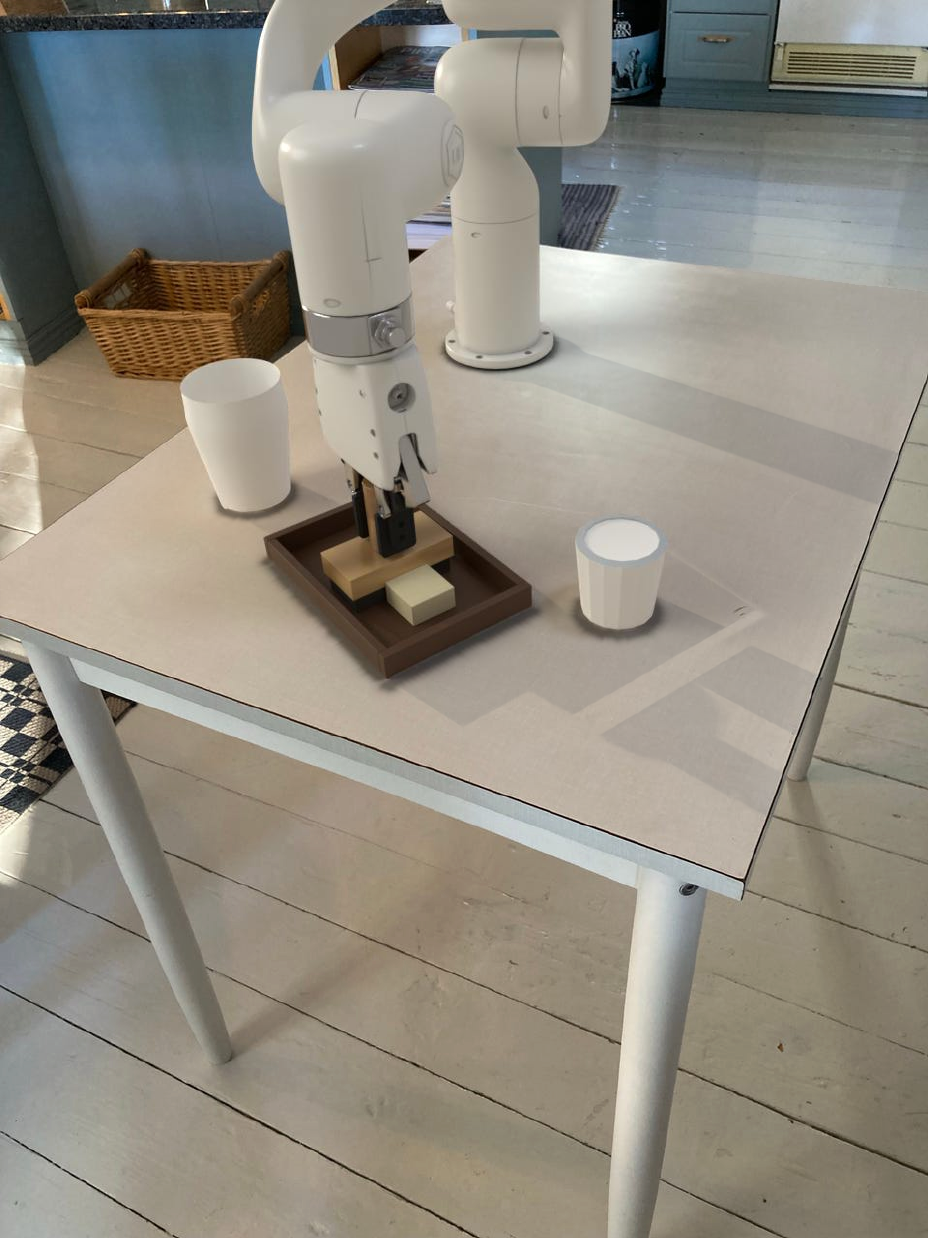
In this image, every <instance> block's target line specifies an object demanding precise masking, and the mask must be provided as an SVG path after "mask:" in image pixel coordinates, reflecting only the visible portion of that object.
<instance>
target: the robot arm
mask: <svg viewBox="0 0 928 1238" xmlns="http://www.w3.org/2000/svg"><path fill="white" fill-rule="evenodd" d="M398 1H399V0H274V1H273V3H272V6H271V8H270V10H269V12H268V14H267V17H266V19H265V21H264V24H263V27H262V30H261V34H260V37H259V42H258V47H257V53H256V54H257V55H256V63H255V65H256V66H255V76H254V87H253V88H254V89H253V98H252V99H253V100H252V101H253V102H252V112H251V113H252V114H251V148H252V157H253V163H254V167H255V172H256V174H257V177H258V181H259V182H260V185H261V186H262V188H263V190H264V191H265V192H266V194H267V195H268V196H269V197H270V199H272V200H274V201H275V202H277V204H279V205H280V206H284V208H285V213H286V220H287V226H288V233H289V239H290V244H291V250H292V258H293V262H294V263H293V264H294V269H295V276H296V281H297V289H298V295H299V300H300V307H301V313H302V319H303V325H304V330H305V332H304V333H305V338H306V343H307V348H308V349H307V350H308V351H309V353H310V354H311V355H312V364H313V365H312V367H313V374H314V375H313V376H314V387H315V395H316V396H315V397H316V403H317V411H318V416H319V421H320V427H321V431H322V434H323V438H324V441H325V443H326V444H327V446H328V447H329V448H330V450H332V451H333V453H334V454H336V455H337V456H338V457H339V458H340V461H341V463H342V464H343V465H344V469H345V477H346V485H347V488H348V490H349V491H350V492H351V493H352V495H351V496H350V497H351V501H352V503H353V510H354V516H355V523H356V530H357V534H358V536H360V537H361V538H362V539H364V538H367V537H370V536H369V529H368V522H367V515H366V507H365V500H364V493H363V485H362V481H363V479H364V477H365V478H366V479H368V480H369V481H370V482H372V483H373V484H374V489H375V495H376V501H377V507H378V513H376V514H374V520H375V528H376V535H377V543H378V550H379V554H380V555H381V556H382V557H383V558H388V557H390V556H392V555H394V554H397V553H399V552H401V551H404V550H406V549H408V548H410V547H413V546H414V545H415V544H416V531H415V522H414V512H413V508H416V507H418V506H421V505H423V504H428V503H430V502H431V496H430V493H429V489H428V487H427V484H426V480H425V477H424V474H423V472H425V473H426V474H427V475H434V474H436V473H437V472H438V470H439V467H440V466H439V461H440V460H439V449H438V441H437V433H436V426H435V420H434V419H435V418H434V412H433V405H432V400H431V394H430V390H429V389H430V388H429V385H428V384H429V383H428V380H427V376H426V371H425V367H424V363H423V361H422V356H421V353H420V350H419V348H418V347H417V345H415V342H416V339H417V335H416V322H415V313H414V301H413V291H412V278H411V267H410V256H409V246H408V234H407V223H408V222H410V221H412V220H414V219H416V218H418V217H420V216H423V215H425V214H427V213H430V212H431V211H433V210H434V209H436V208H437V207H438V206H440V205H441V204H442V203H443V202H444V201H445V200H446V199H447V198H448V196H449V202H450V203H449V204H450V215H451V217H450V218H451V219H450V220H451V234H452V251H453V269H454V284H455V287H454V288H455V298H454V300H453V299H449V300H448V301H447V302H446V304H445V309H446V311H448V313H449V312H450V313H451V314H453V315H454V326H455V327H453V328H452V329H451V330H450V331H449V332H448V333H447V334H446V336H445V341H444V343H445V351H446V353H447V355H448V356H449V357H450V358H451V359H452V360H454V361H456V362H458V363H460V364H462V365H465V366H468V367H472V368H477V369H478V368H479V369H484V370H485V369H486V370H505V369H513V368H518V367H519V368H520V367H522V366H523V367H524V366H527V365H530V364H532V363H535V362H537V361H539V360H541V359H543V358H544V357H546V356H547V355H548V354H549V353H550V352H551V351H552V350H553V346H554V334H553V331H552V330H551V329H550V327H548V326H547V325H546V324H544V323H543V322H541V283H540V281H541V280H540V279H541V278H540V277H541V275H540V273H541V270H540V269H541V267H540V265H541V263H540V262H541V260H540V259H541V258H540V255H541V254H540V252H541V251H540V247H541V245H540V244H541V243H540V241H541V240H540V239H541V238H540V237H541V235H540V234H541V233H540V231H541V230H540V229H541V227H540V190H539V189H540V188H539V185H538V182H537V178H536V177H535V174H534V172H533V170H532V169H531V167H530V166H529V164H528V163H527V161H526V159H525V158H524V156H523V155H522V154H521V153H520V151H519V149H518V148H525V147H543V148H544V147H546V148H547V147H550V148H552V147H553V148H554V147H561V148H562V147H581V146H587V145H590V144H593V143H595V142H596V141H597V140H598V139H599V138H600V137H601V136H602V135H603V133H604V132H605V130H606V127H607V125H608V121H609V117H610V111H611V104H612V103H611V101H612V81H613V80H612V79H613V78H612V77H613V75H612V74H613V73H612V72H613V68H612V66H613V65H612V64H613V61H612V59H613V0H440V1H441V5H442V8H443V11H444V13H445V15H446V17H447V19H448V20H449V21H450V22H451V23H453V24H454V25H455V26H458V27H460V28H463V29H466V30H472V31H473V30H475V31H538V30H539V31H547V30H550V31H554V32H555V33H556V34H557V35H558V37H483V38H474V39H469V40H465V41H461V42H458V43H457V44H455V45H453V46H451V47H450V48H448V49H447V50H446V51H445V52H444V53H443V54H442V55H441V57H440V58H439V60H438V62H437V65H436V68H435V71H434V78H433V79H434V80H433V89H434V90H433V91H434V94H432V93H430V92H426V91H417V90H369V89H315V90H314V83H315V80H316V78H317V75H318V71H319V69H320V67H321V65H322V63H323V61H324V60H325V58H326V56H327V55H328V54H329V52H330V51H331V49H332V48H333V47H334V46H335V44H337V43H338V41H339V40H340V39H341V38H342V37H343V36H345V35H346V34H347V33H348V32H350V30H352V29H353V28H354V27H355V26H357V25H358V24H360V23H362V22H363V21H365V20H366V19H369V18H370V17H371V16H373V15H375V14H377V13H378V12H380V11H382V10H385V9H386V8H387V7H389V6H390V5H392V4H394V3H396V2H398ZM398 484H400V486H401V490H400V491H398V492H395V493H393V494H392V495H391V496H390V497H389V493H388V491H391V490H393V489H394V486H395V485H398Z"/></svg>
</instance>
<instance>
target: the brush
mask: <svg viewBox="0 0 928 1238" xmlns="http://www.w3.org/2000/svg"><path fill="white" fill-rule="evenodd" d="M362 485H363V493H364V500H365V507H366V515H367V522H368V529H369V536H370V537H367V538H364V539H362V538H361V537H360V536H359V537H356V538H354V539H352V540H349V541H347V542H344V543H342V544H340V545H337V546H335V547H333V548H330V549H328V550H326V551H323V552H321V558H322V564H323V569H324V573H325V574H326V575H327V576H328V577H329V578H330V584H331V587H332V588H333V589H334V590H335V591H336V592H337V593H338V594H339V595H340V596H341V597H342V598H343V599H344V600H345V601H346V602H347V603H348V604H349V605H350V606H351V607H352V608H353V609H354V610H355V611H356V612H357V613H359V612H361V611H363V610H365V609H367V608H370V607H372V606H374V605H376V604H378V603H380V602H383V601H385V600H387V594H386V587H385V582H387V581H389V580H391V579H393V578H396V577H398V576H400V575H402V574H405V573H407V572H409V571H411V570H413V569H416V568H418V567H420V566H422V565H425V564H428V565H429V566H430V567H431V568H432V569H434V570H435V571H436V572H437V573H438V574H439V575H441V574H443V573H445V572H448V571H450V570H451V569H450V557H451V556H454V550H453V536H452V535H451V534H450V533H448V532H447V531H446V530H445V529H443V528H442V527H441V526H440V525H438V524H437V523H436V522H435V521H433V520H432V519H431V518H430V517H428V516H427V515H426V514H425V513H423V512H422V511H421V510H420V511H418V512H415V513H414V522H415V531H416V544H415V545H414V546H413V547H410V548H408V549H406V550H404V551H401V552H399V553H397V554H394V555H392V556H390V557H388V558H383V557H382V556H381V555H380V554H379V550H378V543H377V535H376V528H375V520H374V514H376V513H378V507H377V501H376V495H375V489H374V484H373V483H372V482H370V481H369V480H368V479H366V478H365V477H364V479H363V481H362ZM395 492H397V485H395V486H394V489H393V490H391V491H388V493H389V497H390V496H391V495H392V494H393V493H395Z"/></svg>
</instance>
